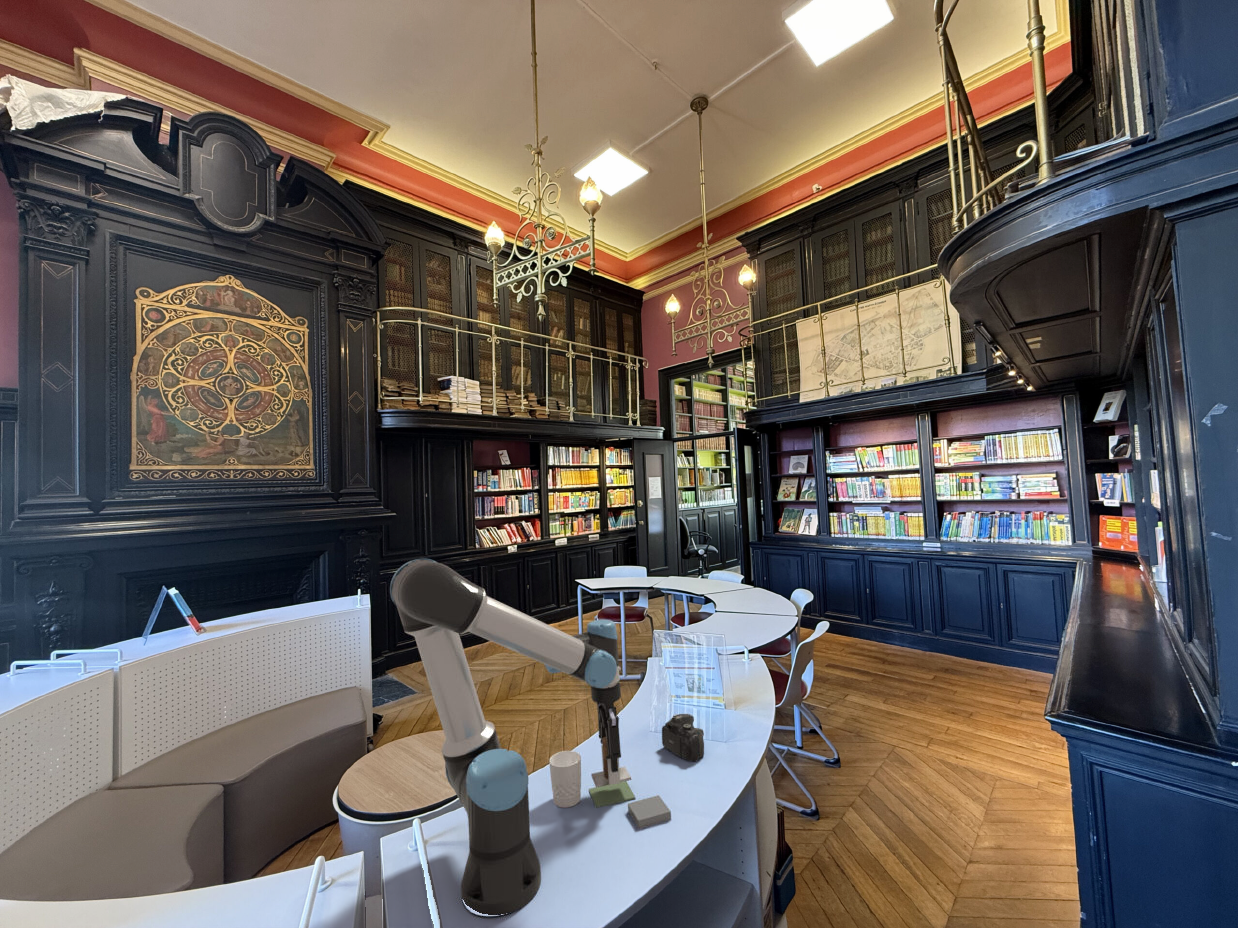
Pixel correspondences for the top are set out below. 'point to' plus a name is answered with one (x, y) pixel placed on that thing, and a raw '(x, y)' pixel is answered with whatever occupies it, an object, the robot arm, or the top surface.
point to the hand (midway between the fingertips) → (611, 776)
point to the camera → (683, 737)
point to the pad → (611, 794)
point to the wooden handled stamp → (603, 777)
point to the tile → (649, 811)
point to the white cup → (566, 778)
